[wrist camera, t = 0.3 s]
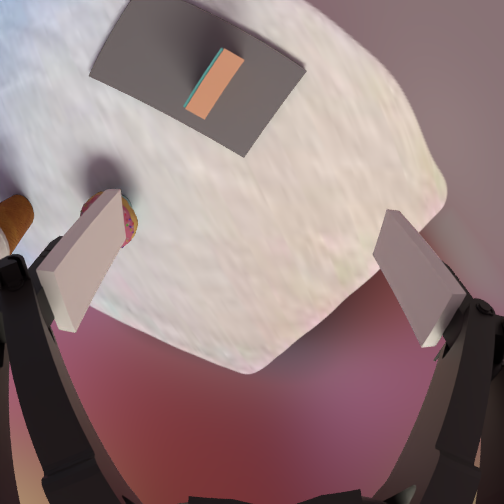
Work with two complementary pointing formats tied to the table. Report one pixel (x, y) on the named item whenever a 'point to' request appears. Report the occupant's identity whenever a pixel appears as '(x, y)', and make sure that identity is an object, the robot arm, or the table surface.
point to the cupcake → (128, 215)
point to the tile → (213, 83)
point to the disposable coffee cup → (14, 222)
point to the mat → (195, 69)
